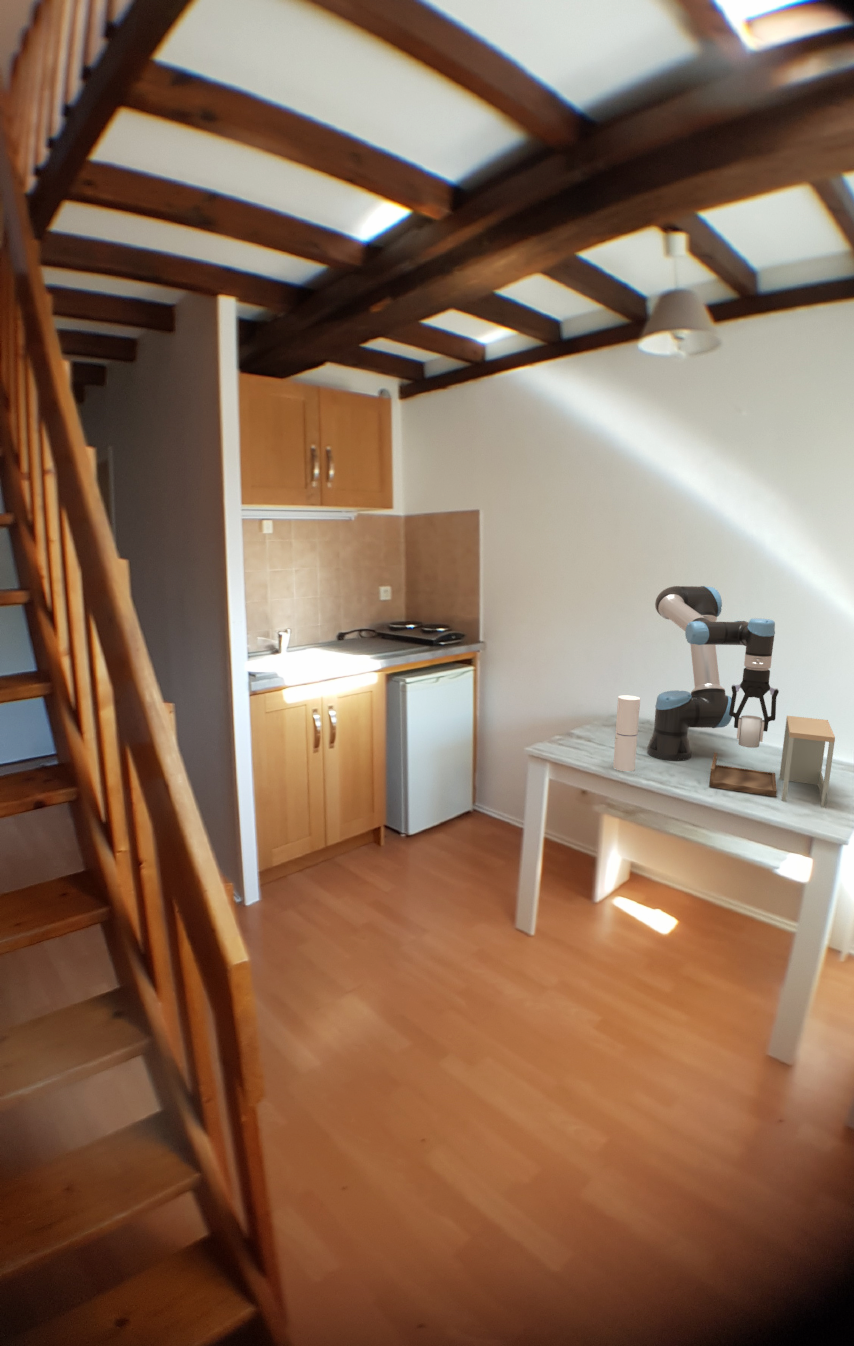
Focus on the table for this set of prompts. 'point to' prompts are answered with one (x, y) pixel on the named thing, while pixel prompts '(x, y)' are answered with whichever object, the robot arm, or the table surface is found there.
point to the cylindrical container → (626, 732)
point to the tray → (742, 779)
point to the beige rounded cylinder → (750, 731)
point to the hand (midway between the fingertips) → (749, 739)
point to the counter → (806, 753)
